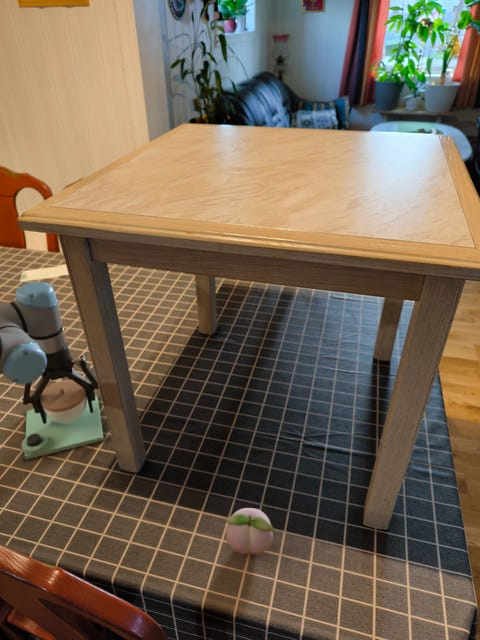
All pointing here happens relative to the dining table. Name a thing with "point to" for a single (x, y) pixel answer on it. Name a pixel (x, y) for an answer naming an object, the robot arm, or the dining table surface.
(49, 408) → the trinket box
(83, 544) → the dining table surface
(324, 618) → the dining table surface
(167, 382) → the dining table surface
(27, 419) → the scale
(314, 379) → the dining table surface
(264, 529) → the decorative fruit
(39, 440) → the button
